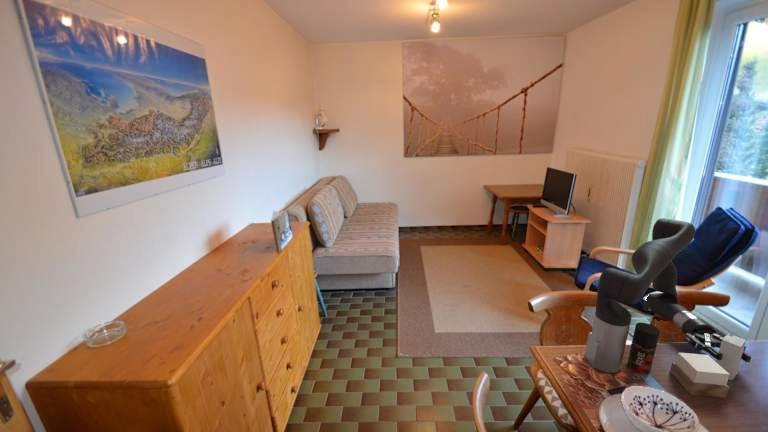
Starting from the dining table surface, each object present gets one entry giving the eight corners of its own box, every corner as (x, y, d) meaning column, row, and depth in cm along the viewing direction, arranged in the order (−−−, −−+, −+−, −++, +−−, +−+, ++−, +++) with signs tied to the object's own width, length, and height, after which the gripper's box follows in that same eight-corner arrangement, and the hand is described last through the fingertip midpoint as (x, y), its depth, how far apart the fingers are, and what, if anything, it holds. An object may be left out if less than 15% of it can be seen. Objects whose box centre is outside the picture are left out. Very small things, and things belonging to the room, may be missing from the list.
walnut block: (690, 395, 94) (693, 384, 93) (669, 372, 103) (672, 362, 102) (725, 398, 93) (729, 387, 92) (701, 375, 101) (704, 364, 100)
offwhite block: (693, 382, 94) (697, 371, 92) (675, 363, 101) (678, 352, 100) (725, 385, 92) (729, 374, 91) (704, 365, 100) (707, 355, 99)
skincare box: (731, 381, 98) (742, 347, 95) (711, 372, 102) (721, 339, 99) (737, 373, 101) (748, 340, 98) (718, 364, 105) (727, 332, 102)
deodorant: (647, 364, 106) (656, 325, 102) (652, 377, 101) (662, 336, 96) (625, 359, 108) (633, 320, 104) (629, 371, 103) (638, 331, 99)
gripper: (672, 316, 114) (711, 346, 98) (718, 318, 112) (765, 350, 96) (668, 334, 116) (705, 367, 100) (713, 336, 114) (758, 371, 98)
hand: (734, 358), depth 98 cm, fingers closed on skincare box, 7 cm apart
